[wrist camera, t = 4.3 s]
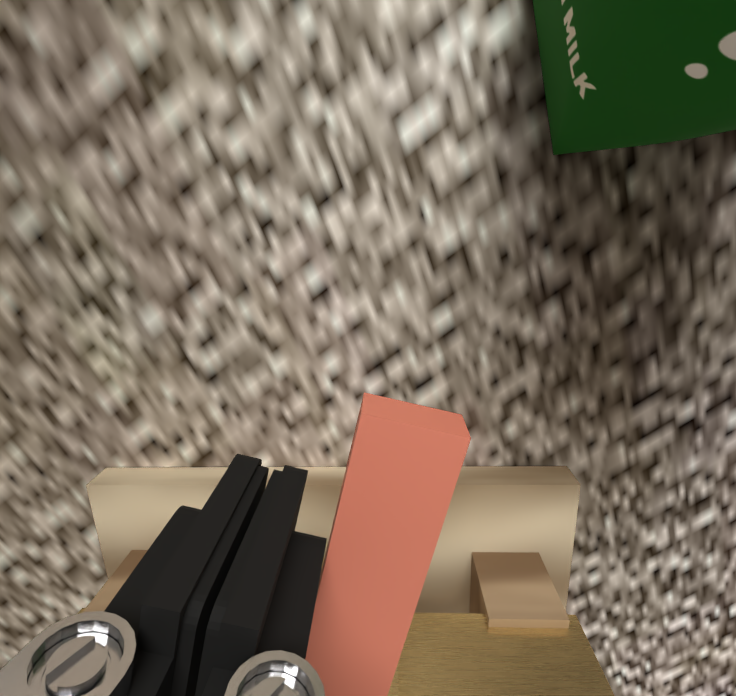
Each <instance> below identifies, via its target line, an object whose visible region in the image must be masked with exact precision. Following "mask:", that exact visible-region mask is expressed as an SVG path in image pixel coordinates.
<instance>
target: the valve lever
mask: <svg viewBox="0 0 736 696" xmlns="http://www.w3.org/2000/svg"><path fill="white" fill-rule="evenodd" d="M470 440H471V437H470V435H469V432H468V429H467V427H466V424H465V422H464V419H463V417H462V415H461V414H457V413H452V412H448V411H443V410H439V409H434V408H430V407H426V406H421V405H417V404H412V403H408V402H404V401H399V400H395V399H390V398H386V397H382V396H377V395H373V394H368V393H364V395H363V399H362V403H361V408H360V412H359V416H358V420H357V424H356V428H355V433H354V437H353V441H352V445H351V449H350V454H349V458H348V462H347V466H346V470H345V474H344V479H343V483H342V487H341V491H340V495H339V499H338V504H337V508H336V512H335V516H334V520H333V525H332V529H331V533H330V537H329V541H328V545H327V550H326V554H325V558H324V562H323V566H322V571H321V575H320V581H319V586H318V592H317V597H316V603H315V608H314V614H313V619H312V625H311V631H310V636H309V642H308V647H307V653H306V658H305V660H307V661H308V662H309V664H310V665H311V666H312V667H313V668H314V669H315V670H316V671H317V673H318V675H319V677H320V679H321V681H322V683H323V686H324V691H325V696H388V692H389V689H390V686H391V683H392V680H393V677H394V674H395V671H396V668H397V665H398V662H399V659H400V656H401V652H402V649H403V646H404V643H405V640H406V637H407V634H408V631H409V628H410V625H411V622H412V619H413V615H414V612H415V609H416V606H417V603H418V600H419V597H420V594H421V591H422V588H423V585H424V582H425V578H426V575H427V572H428V569H429V566H430V563H431V560H432V557H433V554H434V551H435V548H436V545H437V541H438V538H439V535H440V532H441V529H442V526H443V523H444V520H445V517H446V514H447V511H448V508H449V505H450V501H451V498H452V495H453V492H454V489H455V486H456V483H457V480H458V477H459V474H460V471H461V468H462V464H463V461H464V458H465V455H466V452H467V449H468V446H469V443H470Z"/></svg>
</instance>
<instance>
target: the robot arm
mask: <svg viewBox="0 0 736 696" xmlns="http://www.w3.org/2000/svg"><path fill="white" fill-rule="evenodd" d="M261 464H262V460H261V459H258V458H253V457H249V456H245V455H241V454H237V455H236V456H235V458H234V459H233V461H232V462H231V464H230V465H229V467H228V469H227V470H226V472H225V473H224V475H223V477H222V478H221V480H220V481H219V483H218V484H217V486H216V488H215V489H214V491H213V492H212V494H211V495H210V497H209V499H208V500H207V502H206V503H205V505H204V507H203V508H202V510H201V509H197V508H193V507H188V506H184V505H182V506H181V507H179V508H178V509H177V510H176V512H175V513H174V514H173V516H172V517H171V519H170V520H169V521H168V523H167V524H166V526H165V527H164V528H163V530H162V531H161V532H160V534H159V535H158V537H157V538H156V539H155V541H154V542H153V544H152V545H151V546H150V548H149V549H148V551H147V552H146V553H145V555H144V556H143V558H142V559H141V560H140V562H139V563H138V565H137V566H136V567H135V569H134V570H133V572H132V573H131V574H130V576H129V577H128V578H127V580H126V581H125V583H124V584H123V585H122V587H121V588H120V590H119V591H118V592H117V594H116V595H115V597H114V598H113V599H112V601H111V602H110V604H109V605H108V606H107V608H106V609H105V611H93V612H83V613H79V614H76V615H72V616H69V617H66V618H64V619H62V620H60V621H58V622H56V623H54V624H52V625H50V626H49V627H47V628H46V629H45V630H43V631H42V632H41V633H40V634H38V635H37V636H36V637H35V638H33V639H32V640H31V641H30V642H29V643H28V644H27V645H26V646H25V647H24V648H23V649H22V650H21V651H20V652H19V653H18V654H17V655H16V656H15V657H13V658H12V659H11V660H10V661H9V662H8V663H7V664H6V665H5V666H4V667H3V668H2V669H1V670H0V696H325V691H324V686H323V683H322V681H321V679H320V677H319V675H318V673H317V671H316V670H315V669H314V668H313V667H312V666H311V665H310V664H309V662H308V661H307V660H305V658H306V653H307V647H308V642H309V636H310V631H311V625H312V619H313V614H314V608H315V603H316V597H317V592H318V586H319V581H320V575H321V569H322V564H323V558H324V553H325V547H326V541H327V538H323V537H319V536H315V535H310V534H306V533H301V532H297V531H295V527H296V523H297V518H298V514H299V510H300V505H301V501H302V497H303V492H304V488H305V484H306V479H307V475H308V470H304V469H300V468H296V467H291V466H287V465H285V466H284V468H283V471H279V470H275V469H274V470H273V472H272V475H271V477H270V479H269V481H268V484H267V486H266V482H267V477H268V472H269V468H267V467H263V466H261ZM265 487H266V488H265Z"/></svg>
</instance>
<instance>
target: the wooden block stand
mask: <svg viewBox="0 0 736 696" xmlns="http://www.w3.org/2000/svg"><path fill="white" fill-rule="evenodd" d="M324 558H325V557H324ZM324 558H323V562H324ZM322 566H323V564H322ZM321 571H322V569H321ZM85 609H86V608H82V609H81V610H80V611H79V613H82V612H83V611H84V610H85ZM79 613H78V614H79ZM568 617H569V619H570V622H569V628H514V627H488V623H487V619H486V615H485V614H477V613H414V615H413V619H412V622H411V625H410V628H409V631H408V634H407V637H406V640H405V643H404V646H403V649H402V652H401V656H400V659H399V662H398V665H397V668H396V671H395V674H394V677H393V680H392V683H391V686H390V689H389V692H388V696H614V694H613V692H612V690H611V687H610V685H609V683H608V681H607V679H606V677H605V675H604V673H603V671H602V669H601V667H600V665H599V662H598V660H597V658H596V656H595V654H594V652H593V650H592V648H591V646H590V644H589V642H588V640H587V637H586V635H585V633H584V631H583V629H582V627H581V625H580V623H579V621H578V619H577V617H576V615H568Z"/></svg>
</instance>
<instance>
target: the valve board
mask: <svg viewBox="0 0 736 696" xmlns="http://www.w3.org/2000/svg"><path fill="white" fill-rule="evenodd" d="M267 468H269V472H268V477H267V482H266V486H267V484H268V481H269V479H270V477H271V475H272V472H273V470H274V469H275V470H279V471H283V468H284V467H267ZM296 468H300V469H304V470H308V475H307V479H306V484H305V488H304V492H303V497H302V501H301V505H300V510H299V514H298V518H297V523H296V527H295V531H297V532H301V533H306V534H310V535H315V536H319V537H323V538H327V541H326V547H325V553H324V557H325V554H326V550H327V545H328V541H329V537H330V533H331V529H332V525H333V520H334V516H335V512H336V508H337V504H338V499H339V495H340V491H341V487H342V483H343V479H344V474H345V470H346V467H296ZM227 469H228V467H161V468H106V469H104V470H103V471H102V472H101V473H100V474H99V475H97V476H96V477H95V478H94V479H93V480H92V481H90V482H89V483H88V484H87V485H86V488H87V492H88V496H89V500H90V505H91V509H92V513H93V517H94V521H95V526H96V530H97V534H98V538H99V543H100V547H101V551H102V555H103V560H104V564H105V568H106V572H107V577H108V581H107V582H106V583H105V584H104V586H103V587H102V588H101V590H100V591H99V592H98V593H97V595H96V596H95V597H94V598H93V600H92V601H91V602H90V604H89V605H88V606H87V607H86V609H85V610H84V611H83V612H93V611H105V609H106V608H107V606H108V605H109V604H110V602H111V601H112V599H113V598H114V597H115V595H116V594H117V592H118V591H119V590H120V588H121V587H122V585H123V584H124V583H125V581H126V580H127V578H128V577H129V576H130V574H131V573H132V572H133V570H134V569H135V567H136V566H137V565H138V563H139V562H140V560H141V559H142V558H143V556H144V555H145V553H146V552H147V551H148V549H149V548H150V546H151V545H152V544H153V542H154V541H155V539H156V538H157V537H158V535H159V534H160V532H161V531H162V530H163V528H164V527H165V526H166V524H167V523H168V521H169V520H170V519H171V517H172V516H173V514H174V513H175V512H176V510H177V509H178V508H179V507H181V506H182V505H184V506H188V507H193V508H197V509H201V510H202V508H203V507H204V505H205V503H206V502H207V500H208V499H209V497H210V495H211V494H212V492H213V491H214V489H215V488H216V486H217V484H218V483H219V481H220V480H221V478H222V477H223V475H224V473H225V472H226V470H227ZM265 488H266V487H265ZM579 494H580V483H579V482H578V481H577V479H576V478H575V477H574V475H573V474H572V473H571V471H570V470H569V469H568V467H567V466H467V467H462V468H461V471H460V474H459V477H458V480H457V483H456V486H455V489H454V492H453V495H452V498H451V501H450V505H449V508H448V511H447V514H446V517H445V520H444V523H443V526H442V529H441V532H440V535H439V538H438V541H437V545H436V548H435V551H434V554H433V557H432V560H431V563H430V566H429V569H428V572H427V575H426V578H425V582H424V585H423V588H422V591H421V594H420V597H419V600H418V603H417V606H416V609H415V612H414V613H477V614H485V615H486V619H487V623H488V627H514V628H569V622H570V619H569V617H568V615H567V613H566V604H567V596H568V587H569V579H570V570H571V562H572V553H573V545H574V536H575V528H576V519H577V511H578V502H579ZM83 612H82V613H83Z"/></svg>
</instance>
